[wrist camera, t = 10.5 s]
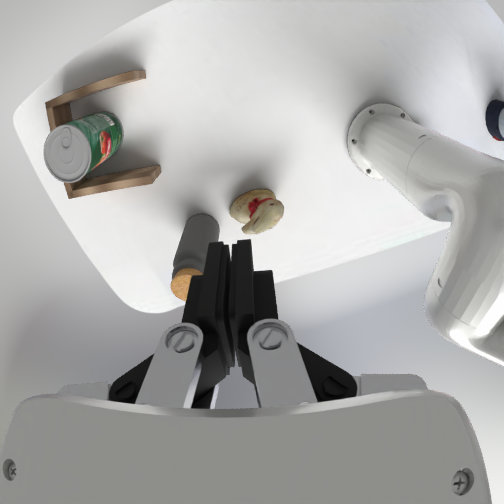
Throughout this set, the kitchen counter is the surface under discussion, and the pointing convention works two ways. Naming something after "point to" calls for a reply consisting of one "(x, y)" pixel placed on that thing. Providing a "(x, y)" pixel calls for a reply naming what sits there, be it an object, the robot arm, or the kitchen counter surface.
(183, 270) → the bottle
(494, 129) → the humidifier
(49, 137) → the canned tomato
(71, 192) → the box
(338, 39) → the kitchen counter surface
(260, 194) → the chocolate bunny
